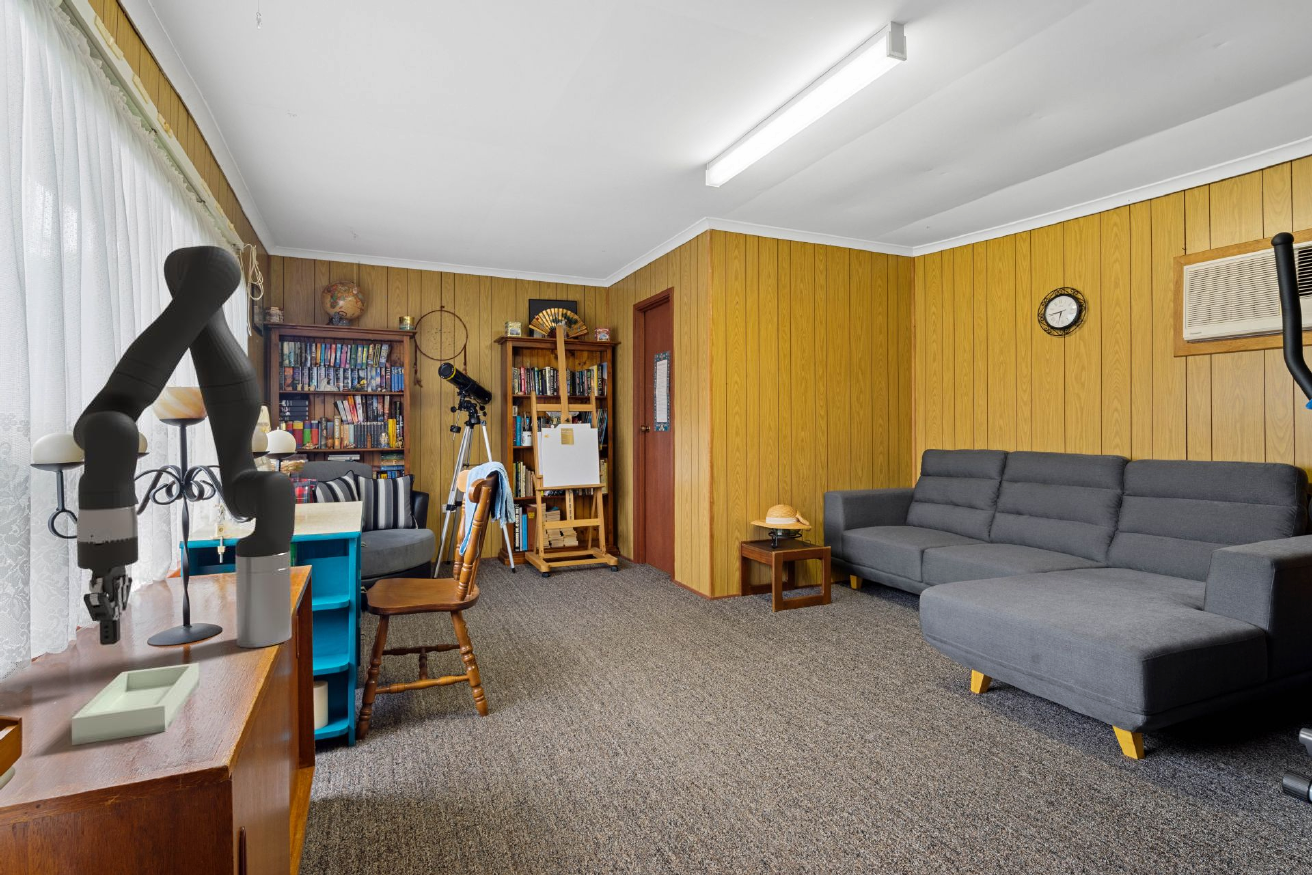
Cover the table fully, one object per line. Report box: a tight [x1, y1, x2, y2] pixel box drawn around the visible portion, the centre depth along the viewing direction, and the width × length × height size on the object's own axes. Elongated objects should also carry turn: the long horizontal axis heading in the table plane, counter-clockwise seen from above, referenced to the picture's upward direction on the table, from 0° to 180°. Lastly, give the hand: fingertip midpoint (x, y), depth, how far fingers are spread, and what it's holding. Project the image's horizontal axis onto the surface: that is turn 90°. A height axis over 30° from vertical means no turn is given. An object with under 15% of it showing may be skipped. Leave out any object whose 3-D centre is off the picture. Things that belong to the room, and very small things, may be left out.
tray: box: [71, 662, 200, 746], centre depth 96 cm, size 18×10×4 cm, turn 23°
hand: (110, 643), depth 105 cm, fingers closed
